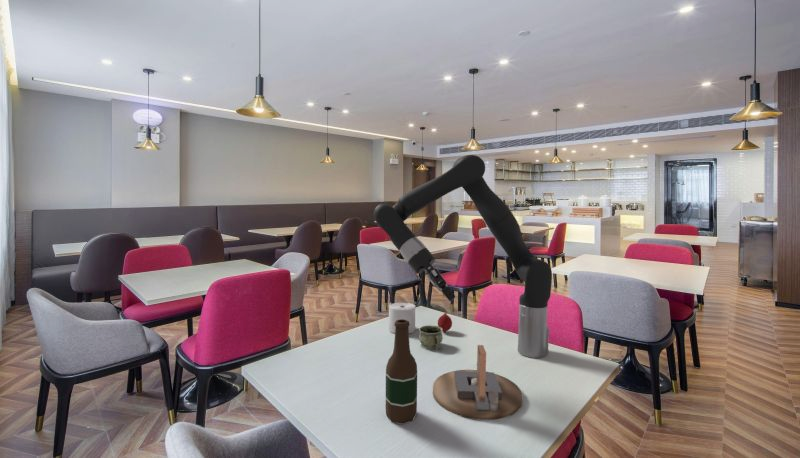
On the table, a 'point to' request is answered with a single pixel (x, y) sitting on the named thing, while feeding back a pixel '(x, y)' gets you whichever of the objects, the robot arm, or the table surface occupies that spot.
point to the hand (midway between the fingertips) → (452, 299)
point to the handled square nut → (484, 383)
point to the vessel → (430, 337)
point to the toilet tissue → (401, 315)
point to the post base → (466, 407)
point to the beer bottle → (401, 378)
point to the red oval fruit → (445, 322)
